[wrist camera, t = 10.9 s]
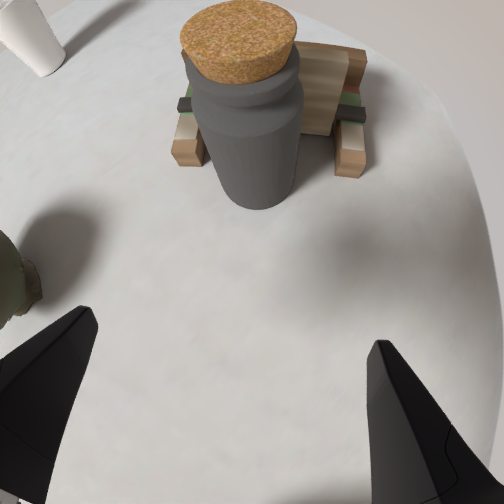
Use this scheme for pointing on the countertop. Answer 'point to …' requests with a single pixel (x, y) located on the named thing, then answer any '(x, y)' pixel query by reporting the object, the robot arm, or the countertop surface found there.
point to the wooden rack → (345, 132)
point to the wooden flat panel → (317, 90)
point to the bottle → (247, 96)
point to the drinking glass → (30, 36)
